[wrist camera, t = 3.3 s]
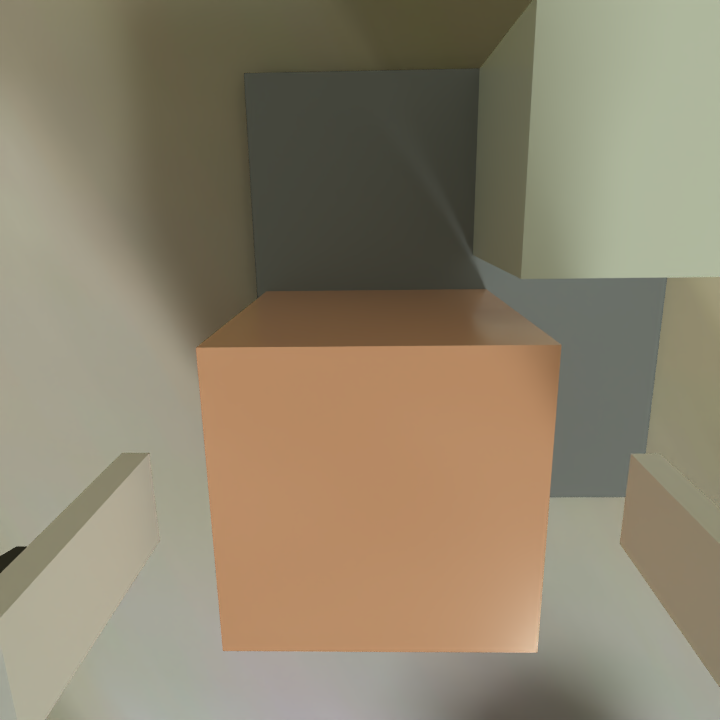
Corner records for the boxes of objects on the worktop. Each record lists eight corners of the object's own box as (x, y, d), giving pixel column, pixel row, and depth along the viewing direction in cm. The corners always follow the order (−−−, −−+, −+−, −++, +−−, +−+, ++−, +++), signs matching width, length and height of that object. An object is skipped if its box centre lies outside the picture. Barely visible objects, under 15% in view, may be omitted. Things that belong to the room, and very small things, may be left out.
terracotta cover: (277, 489, 27) (222, 651, 17) (266, 291, 24) (196, 347, 15) (477, 489, 26) (537, 652, 17) (486, 289, 24) (561, 345, 14)
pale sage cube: (473, 255, 24) (520, 279, 16) (479, 68, 22) (537, -7, 14) (645, 253, 24) (777, 276, 16) (666, 64, 22) (827, -14, 14)
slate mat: (271, 491, 27) (269, 497, 27) (247, 76, 23) (244, 73, 22) (634, 490, 27) (640, 497, 26) (684, 68, 22) (693, 64, 22)
